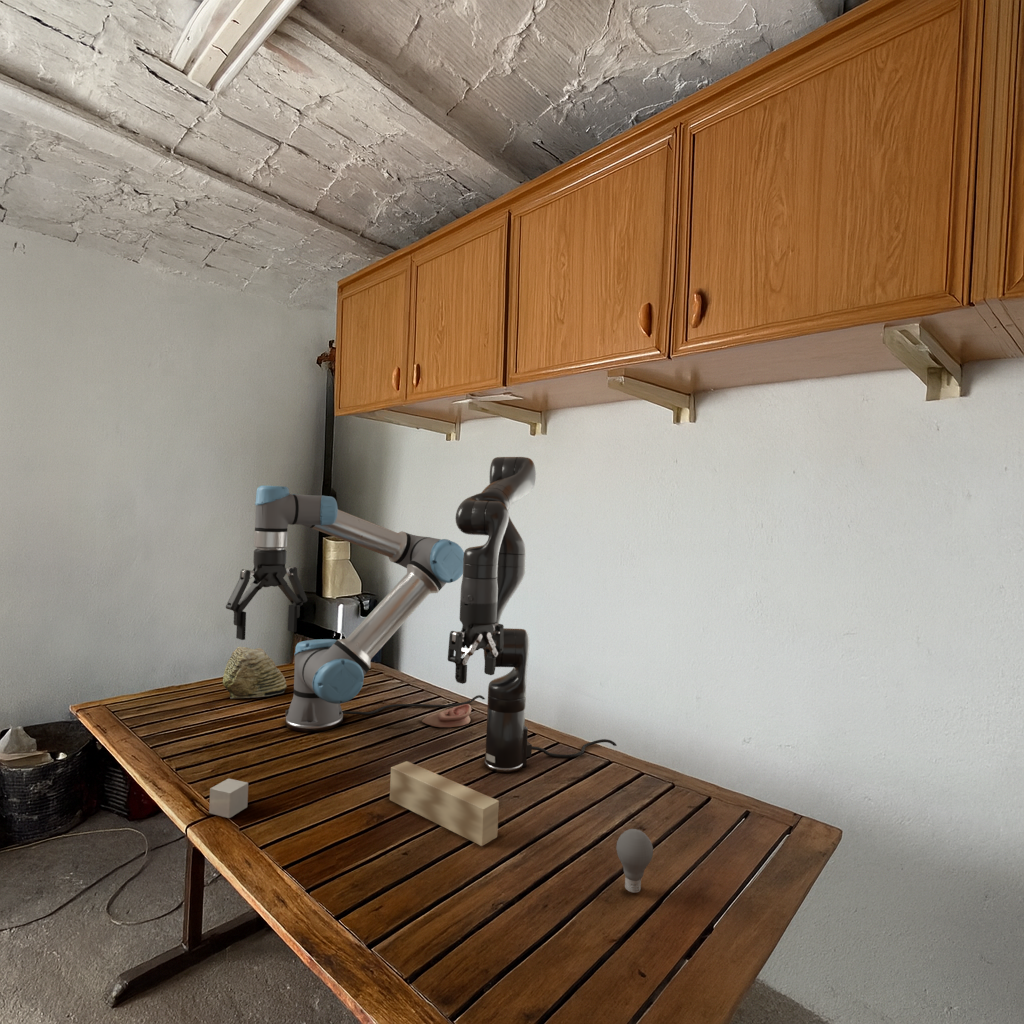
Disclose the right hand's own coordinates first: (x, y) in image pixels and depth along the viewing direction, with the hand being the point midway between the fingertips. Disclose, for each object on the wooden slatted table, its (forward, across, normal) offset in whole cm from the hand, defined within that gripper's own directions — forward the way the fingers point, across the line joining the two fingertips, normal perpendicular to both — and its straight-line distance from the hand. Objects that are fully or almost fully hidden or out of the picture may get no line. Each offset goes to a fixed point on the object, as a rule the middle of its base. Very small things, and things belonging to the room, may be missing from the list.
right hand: (475, 678), depth 129 cm
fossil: (+28, -9, -99) cm, 104 cm away
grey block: (+28, +32, -36) cm, 56 cm away
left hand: (-1, +12, -58) cm, 59 cm away
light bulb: (+28, 0, +37) cm, 46 cm away
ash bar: (+28, +5, -3) cm, 29 cm away
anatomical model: (+28, -35, -41) cm, 61 cm away
